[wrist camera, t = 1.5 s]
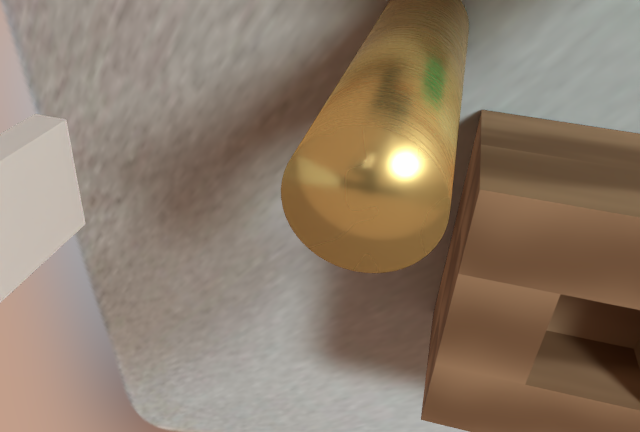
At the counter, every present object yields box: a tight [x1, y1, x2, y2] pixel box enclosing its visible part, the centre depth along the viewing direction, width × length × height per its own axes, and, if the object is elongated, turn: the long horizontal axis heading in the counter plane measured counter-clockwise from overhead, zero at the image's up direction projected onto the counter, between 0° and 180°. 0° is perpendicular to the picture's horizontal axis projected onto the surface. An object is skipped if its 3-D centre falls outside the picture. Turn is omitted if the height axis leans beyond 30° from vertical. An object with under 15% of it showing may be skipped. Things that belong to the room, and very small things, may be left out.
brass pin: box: [281, 0, 469, 273], centre depth 18 cm, size 4×4×14 cm
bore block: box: [421, 110, 640, 432], centre depth 24 cm, size 12×12×7 cm
